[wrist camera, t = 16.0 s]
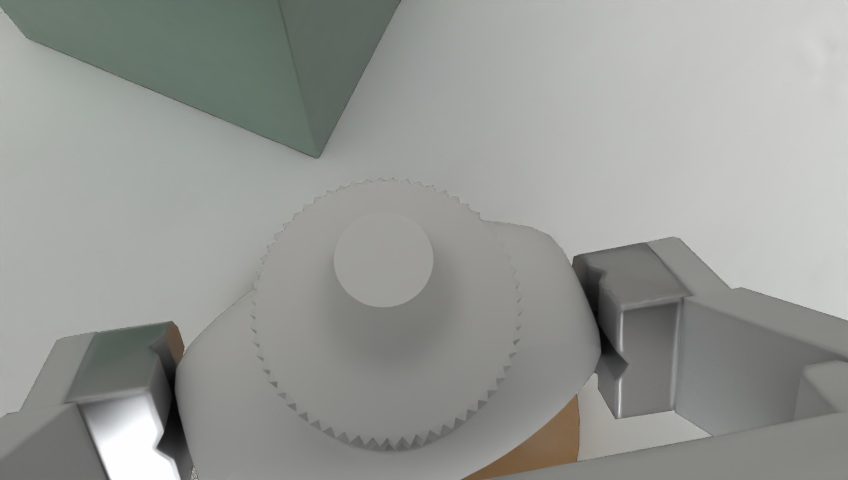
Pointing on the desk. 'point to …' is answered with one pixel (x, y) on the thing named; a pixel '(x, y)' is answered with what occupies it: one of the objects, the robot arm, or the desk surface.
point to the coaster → (540, 447)
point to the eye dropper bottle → (387, 344)
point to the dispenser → (225, 54)
